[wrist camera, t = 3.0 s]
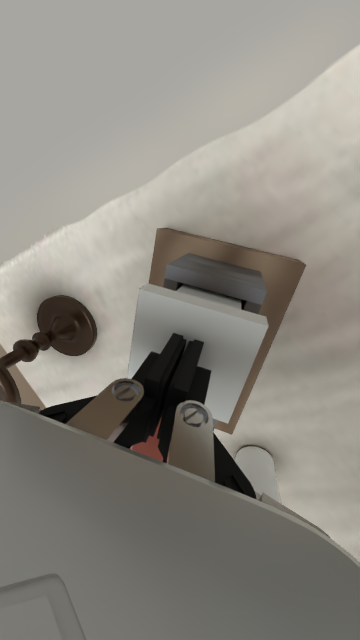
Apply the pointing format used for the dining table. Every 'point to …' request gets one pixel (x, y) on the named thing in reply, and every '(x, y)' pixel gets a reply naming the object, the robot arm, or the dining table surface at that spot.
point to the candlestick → (50, 338)
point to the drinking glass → (259, 470)
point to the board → (229, 285)
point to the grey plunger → (201, 337)
